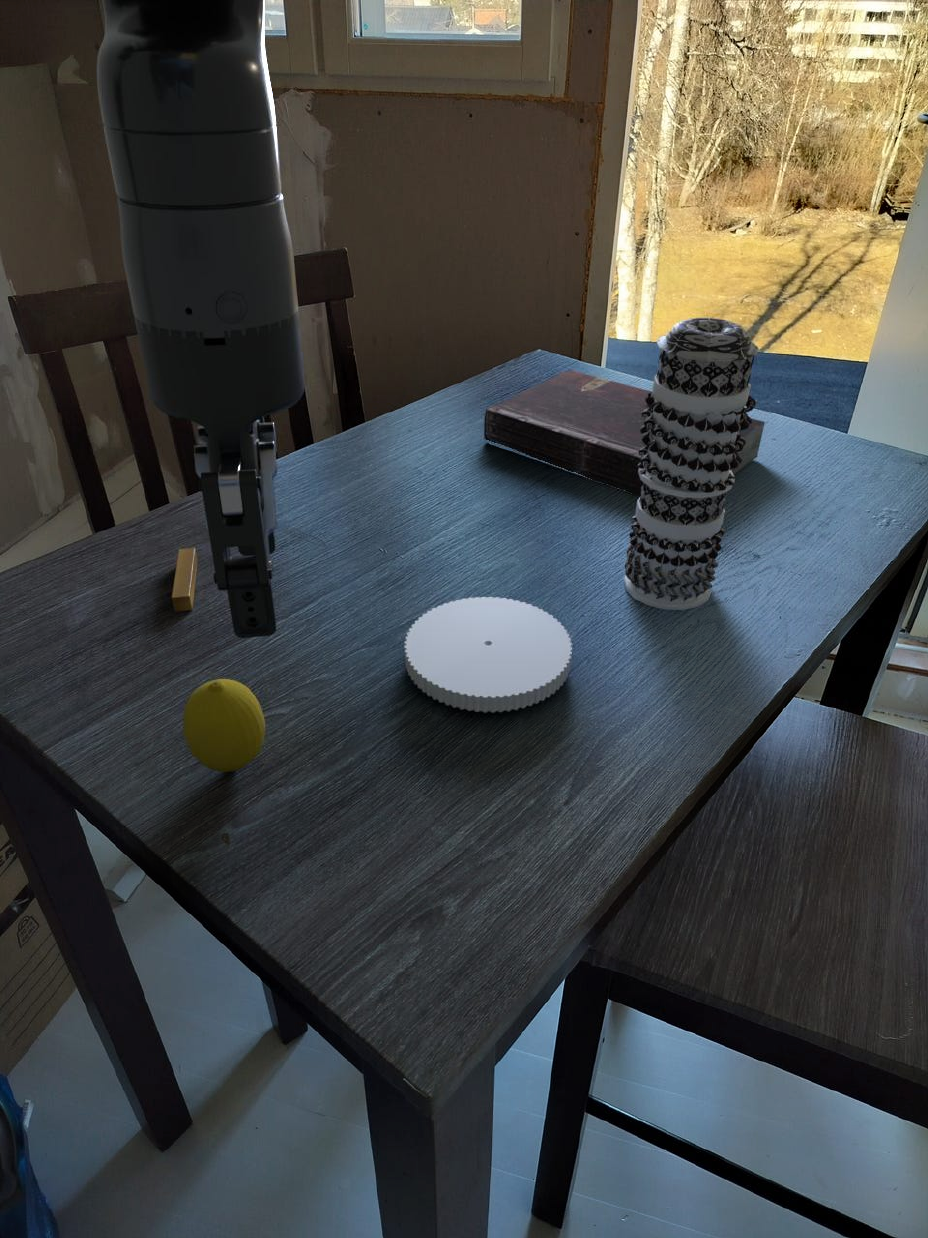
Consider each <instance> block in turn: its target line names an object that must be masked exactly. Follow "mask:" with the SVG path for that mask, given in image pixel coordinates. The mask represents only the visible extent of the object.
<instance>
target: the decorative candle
mask: <svg viewBox="0 0 928 1238" xmlns="http://www.w3.org/2000/svg"><path fill="white" fill-rule="evenodd" d="M656 344H657V346H658V348H659V349H660V354H659V357H658V361H657V363H658V370H657V372H656V374H655V376H654V377H653V383H652V391H651V392H652V394H653V396H654V397H651V393H649V394H647V395H646V396H645V402H646V403H647V404H646V409H645V410H643V411H642V417H643V418H644V419H645V420H644V425H643V426H642V427H641V428H640V432H641V434H643V435H642V436H641V440H642V442H643V447H642V448H640V449H639V455H640V456H641V459H640V463H639V464H638V466H637V467H639V470H638V473H639V476H640V479H641V480H642V481H643V482H642V485H641V496H640V497H639V498H638V499H637V500H636V508H635V515H633V516H632V517H631V519H630V522H631V531H630V532H629V538H630V539H629V544H630V545H629V546H628V547H627V549H626V561H625V564H624V568H625V570H624V573H625V574H624V577H623V584H624V589H625V591H626V592H627V593H628V594H629V595H630V596H631V597H632V598H633V599H634V600H636V601H639V602H640V603H642V604H644V605H645V606H648V607H652V608H656V609H661V610H665V611H685V610H686V611H687V610H690V609H694V608H698V607H700V606H702V605H703V604H705V603H706V602H708V601H709V598H710V597H711V594H712V591H713V584H712V582H714V581H716V576H715V574H716V568H718V567H719V562H718V561H717V558H718V557H719V552H720V551H721V550H722V547H723V546H722V544H721V542H722V540H723V538H722V537H724V536H725V533H726V531H725V529H724V528H723V527H724V526H723V525H724V524H723V523H724V517H725V513H726V509H725V503H726V498H727V493H728V492H729V491H731V490H732V488H733V486H734V484H735V480H736V477H735V474H734V475H733V473H732V471H731V469H735V468H737V467H739V464H740V463H741V461H742V458H741V457H740V456H739V454H738V453H737V452H739V451H741V450H743V447H744V446H745V444H746V441H745V439H744V438H742V436H741V435H740V434H739V433H740V432H739V433H737V432H738V431H742V430H745V429H748V428H749V425H750V424H751V423H752V419H753V418H752V419H751V417H750V415H749V414H748V413H751V412H752V411H754V408H755V406H756V405H757V400H756V399H755V398H754V397H752V396H751V394H750V391H751V387H752V386H751V384H750V381H751V376H752V372H753V371H752V370H753V365H754V361H755V356H757V354H758V352H759V351H760V348H759V347H758V346H757V344H756V343H755V342H753V341H751V338H750V336H749V333H748V332H747V331H746V329H745V328H744V327H743V326H742V325H740V324H738V323H736V322H733V321H730V320H726V319H722V318H713V317H695V318H687V319H684V320H681V321H678V322H676V324H674V326H673V327H672V328H671V329H670V331H668V333H666V334H663V335H661V336H660V337H659V338H658V339H657V341H656ZM654 399H655V400H654ZM650 413H653V416H650ZM649 429H651V431H649ZM648 431H649V432H650V435H649V432H648ZM647 450H648V452H647Z"/></svg>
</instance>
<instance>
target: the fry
mask: <svg viewBox="0 0 928 1238" xmlns="http://www.w3.org/2000/svg"><path fill="white" fill-rule="evenodd" d="M198 561H199V560H198V555H197V551H196V548H195V547H187V548H179V549H178V552H177V559H176V564H175V565H176V566H175V573H174V579H173V580H174V581H173V585H172V586H173V587H172V594H171V601H172V606H173V610H174V612H175V613H178V612H186V611H193V608H194V599H195V590H196V589H195V588H196V580H197V571H198V570H197V569H198V563H199V562H198Z"/></svg>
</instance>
